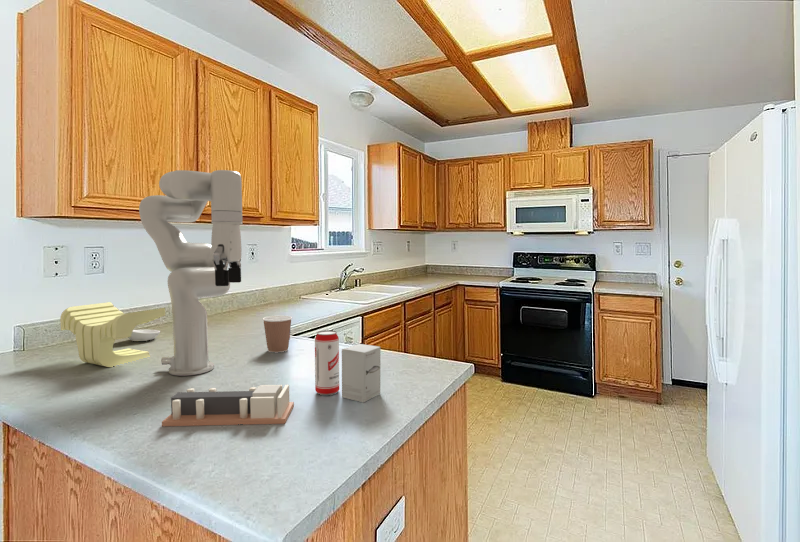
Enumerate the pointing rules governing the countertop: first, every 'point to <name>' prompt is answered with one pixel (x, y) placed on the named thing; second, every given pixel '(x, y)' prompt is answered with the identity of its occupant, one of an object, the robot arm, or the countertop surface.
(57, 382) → the countertop surface
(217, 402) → the grey post with base
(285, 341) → the coffee cup
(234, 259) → the robot arm
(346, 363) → the supplement box
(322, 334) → the beer can
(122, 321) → the slatted curved stool
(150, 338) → the spoon rest
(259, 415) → the orange peg rack
